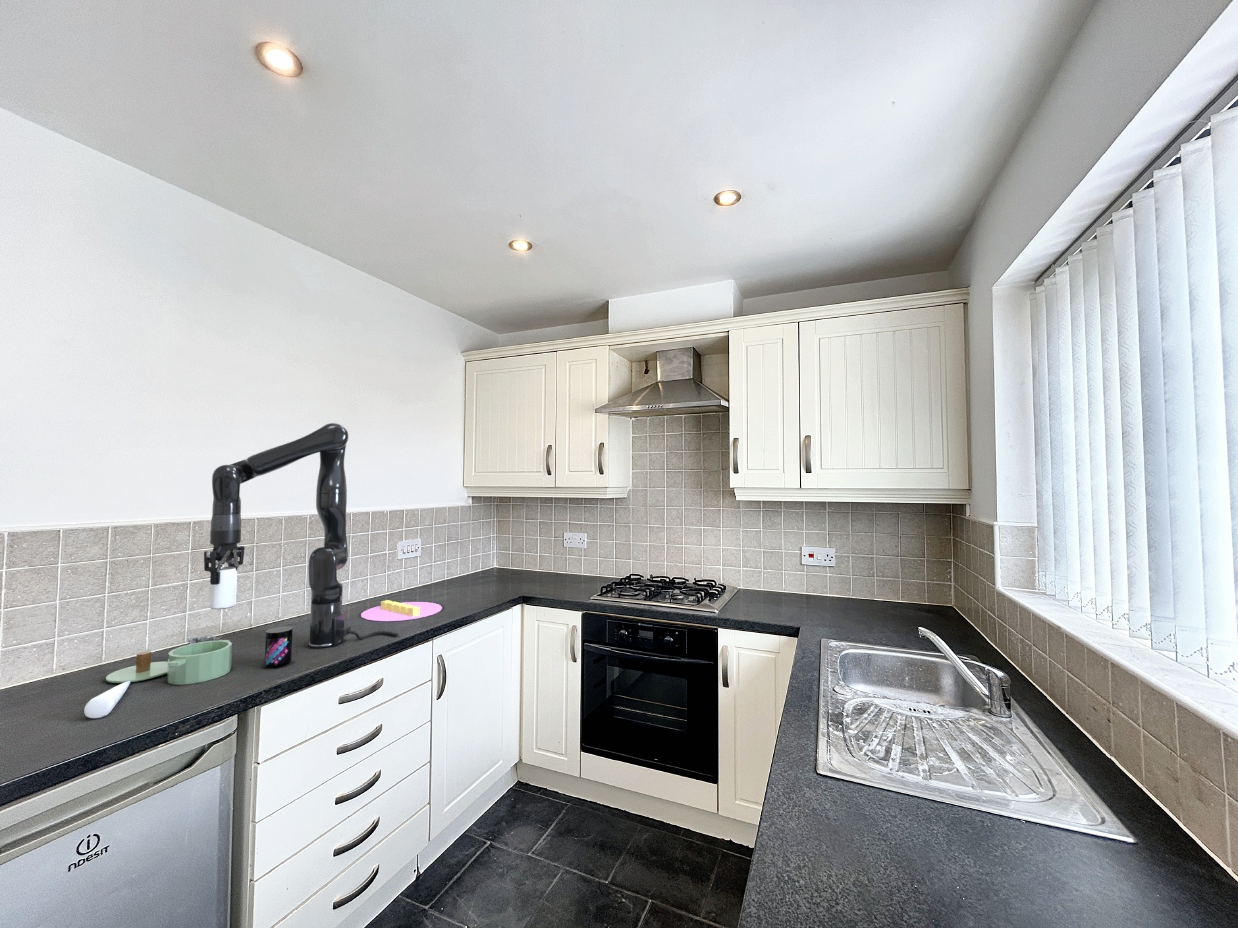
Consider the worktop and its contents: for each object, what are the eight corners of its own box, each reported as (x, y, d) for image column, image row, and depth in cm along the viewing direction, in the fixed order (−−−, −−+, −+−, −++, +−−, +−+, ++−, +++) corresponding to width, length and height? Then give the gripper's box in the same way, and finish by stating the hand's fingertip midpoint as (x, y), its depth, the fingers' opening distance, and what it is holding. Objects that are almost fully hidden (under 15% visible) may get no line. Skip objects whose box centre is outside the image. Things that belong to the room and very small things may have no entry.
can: (220, 610, 148) (222, 570, 148) (203, 608, 149) (205, 569, 149) (241, 605, 154) (242, 566, 154) (224, 603, 155) (226, 566, 156)
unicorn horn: (148, 680, 134) (149, 662, 134) (110, 717, 113) (111, 696, 113) (124, 683, 131) (125, 665, 132) (82, 721, 111) (83, 700, 111)
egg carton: (223, 650, 158) (223, 637, 159) (192, 656, 153) (193, 643, 153) (215, 643, 165) (216, 630, 165) (186, 648, 160) (186, 636, 160)
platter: (389, 625, 187) (390, 616, 187) (344, 613, 204) (345, 605, 204) (457, 608, 214) (458, 600, 214) (413, 598, 231) (413, 591, 231)
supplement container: (258, 667, 144) (259, 631, 144) (280, 659, 150) (281, 625, 151) (275, 669, 142) (277, 633, 143) (296, 661, 149) (298, 627, 149)
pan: (248, 662, 148) (249, 637, 148) (198, 688, 129) (200, 659, 129) (200, 663, 147) (202, 637, 147) (144, 689, 128) (145, 660, 128)
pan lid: (190, 664, 146) (191, 643, 146) (147, 684, 131) (148, 661, 131) (139, 665, 145) (140, 644, 145) (89, 685, 130) (90, 662, 130)
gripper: (221, 530, 146) (218, 586, 145) (254, 526, 160) (252, 577, 159) (194, 530, 145) (192, 586, 144) (230, 526, 159) (228, 577, 159)
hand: (223, 581), depth 152 cm, fingers closed on can, 6 cm apart
